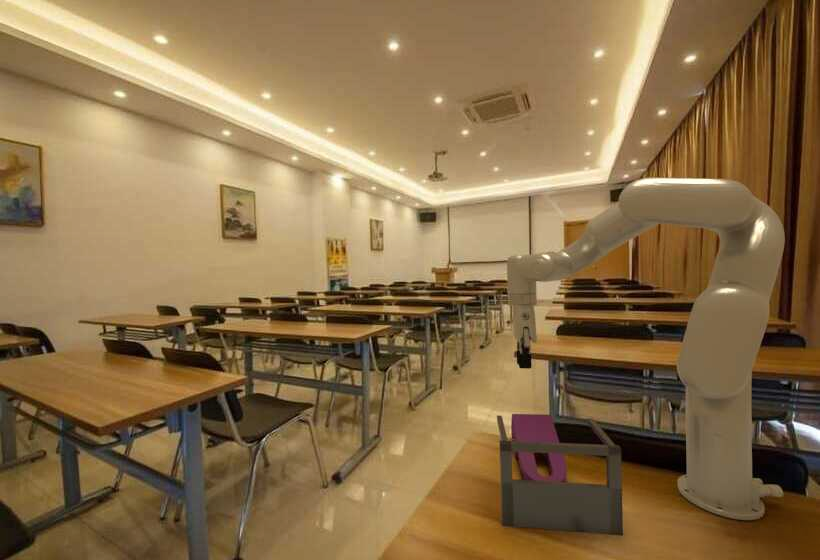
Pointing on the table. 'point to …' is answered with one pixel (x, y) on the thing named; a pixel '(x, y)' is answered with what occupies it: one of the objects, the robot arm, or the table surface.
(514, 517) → the rack
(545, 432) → the mounting bracket
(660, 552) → the table surface
